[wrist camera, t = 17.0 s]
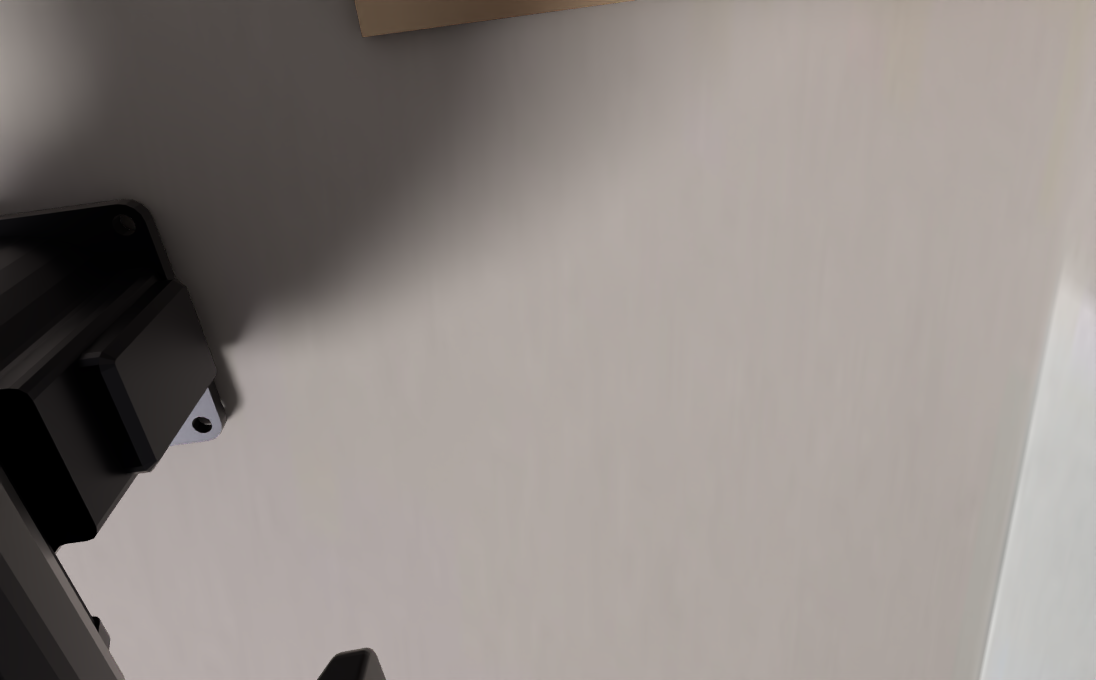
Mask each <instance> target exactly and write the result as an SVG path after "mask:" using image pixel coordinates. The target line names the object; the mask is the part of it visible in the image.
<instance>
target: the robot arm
mask: <svg viewBox="0 0 1096 680" xmlns="http://www.w3.org/2000/svg"><path fill="white" fill-rule="evenodd" d="M120 215H127V216H128V217H130V218H132V220H133V221H134V223H135V226H136V230H129V229H128V228H126V227H124V226H123V224H122V223H121V221H120ZM216 374H217V369H216V367H215V364H214V361H213V358H212V356H211V353H210V350H209V347H208V345H207V342H206V339H205V336H204V334H203V331H202V328H201V326H200V323H199V320H198V317H197V315H196V312H195V309H194V306H193V304H192V301H191V298H190V296H189V293H188V290H187V288H186V286H184V285H183V284H182V283H180V282H179V281H178V280H176V279H175V276H174V273H173V270H172V268H171V265H170V262H169V260H168V257H167V254H166V252H165V249H164V246H163V244H162V241H161V238H160V235H159V233H158V230H157V227H156V225H155V222H154V219H153V217H152V215H151V213H150V212H149V210H148V209H147V208H146V207H145V206H144V205H143V204H141V203H139V202H137V201H134V200H131V199H121V200H113V201H106V202H99V203H91V204H84V205H77V206H69V207H62V208H54V209H47V210H40V211H32V212H25V213H18V214H10V215H3V216H0V680H125V678H124V676H123V674H122V672H121V671H120V669H119V667H118V665H117V664H116V662H115V660H114V659H113V657H112V655H111V654H110V652H109V645H110V636H109V634H108V632H107V631H106V629H105V627H104V626H103V624H102V622H101V620H100V619H99V618H98V617H92V616H91V614H90V613H89V611H88V609H87V608H86V606H85V604H84V602H83V601H82V599H81V597H80V596H79V594H78V592H77V590H76V589H75V587H74V585H73V584H72V582H71V580H70V578H69V577H68V575H67V573H66V572H65V570H64V568H63V566H62V565H61V563H60V561H59V560H58V558H57V556H56V553H57V551H58V550H59V549H60V547H61V546H62V545H64V544H68V543H76V542H83V541H88V540H91V539H93V538H94V537H95V536H96V535H97V533H98V532H99V530H100V529H101V527H102V526H103V524H104V523H105V521H106V520H107V519H108V517H109V516H110V514H111V513H112V511H113V510H114V508H115V507H116V505H117V504H118V502H119V501H120V500H121V498H122V497H123V495H124V494H125V492H126V491H127V489H128V488H129V486H130V485H131V484H132V482H133V481H134V479H135V478H136V476H137V475H138V474H139V473H146V472H151V471H152V470H153V469H154V468H155V466H156V465H157V464H158V462H159V461H160V459H161V458H162V456H163V455H164V453H165V451H166V450H167V448H168V447H169V446H173V445H180V444H188V443H195V442H202V441H209V440H212V439H215V438H216V437H217V436H218V435H220V433H221V431H222V430H223V428H224V426H225V423H226V421H227V419H226V413H225V411H224V408H223V405H222V403H221V400H220V397H219V394H218V392H217V389H216V386H215V384H214V381H213V379H214V377H215V376H216ZM198 417H205V418H207V419H209V420H210V422H211V423H212V424H211V425H206V424H203V423H201V422H200V421H199V419H198ZM317 680H386V679H385V676H384V673H383V671H382V668H381V665H380V663H379V660H378V658H377V655H376V653H375V652H374V651H373V650H372V649H371V648H362V649H356V650H351V651H345V652H341V653H338V654H336V655H335V656H334V657H333V658H332V659H331V661H330V662H329V663H328V665H327V666H326V668H325V669H324V671H323V672H322V673H321V675H320V676H319V678H318V679H317Z"/></svg>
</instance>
